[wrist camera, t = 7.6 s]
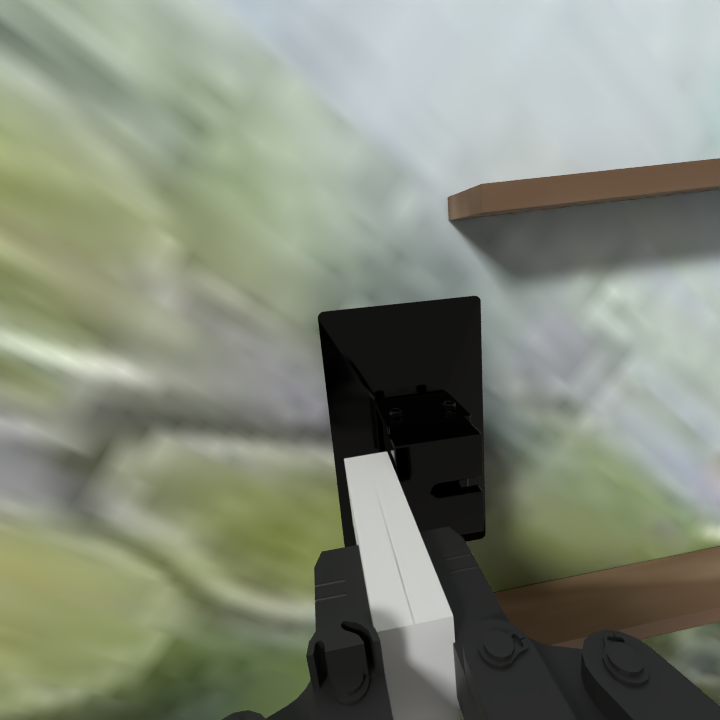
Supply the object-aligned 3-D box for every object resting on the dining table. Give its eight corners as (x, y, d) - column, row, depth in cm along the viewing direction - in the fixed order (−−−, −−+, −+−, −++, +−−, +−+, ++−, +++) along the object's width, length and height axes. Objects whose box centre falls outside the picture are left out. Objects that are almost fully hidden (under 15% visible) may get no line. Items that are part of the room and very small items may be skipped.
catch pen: (809, 540, 22) (886, 583, 19) (469, 610, 20) (497, 671, 17) (892, 148, 17) (1015, 126, 14) (447, 197, 15) (481, 183, 12)
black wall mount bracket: (486, 538, 20) (538, 623, 15) (335, 564, 19) (345, 661, 14) (483, 277, 16) (550, 288, 12) (300, 297, 16) (298, 317, 11)
